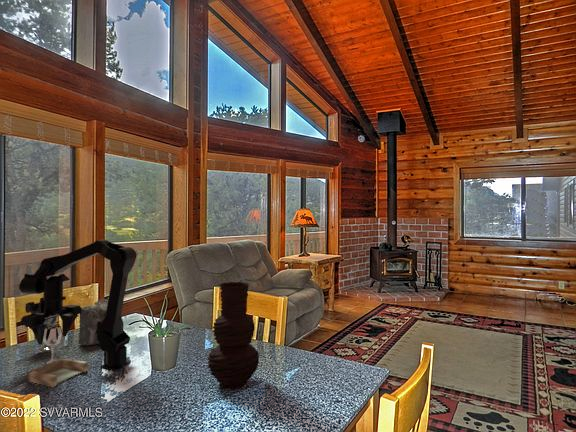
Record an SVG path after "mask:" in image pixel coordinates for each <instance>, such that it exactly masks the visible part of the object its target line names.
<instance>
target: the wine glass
mask: <svg viewBox="0 0 576 432" xmlns="http://www.w3.org/2000/svg"><path fill="white" fill-rule="evenodd" d="M36 314H39V313H36ZM40 315H43V313H42V314H40ZM49 316H51V315H49ZM58 317H59V316H57V317H54V318H50V319H46V320H45V322H44V323H43V324H45V325H46V326H45V327H47V326H52V325H56V324H57V322H58ZM43 344H44V343H43ZM51 347H52V346H47V345H45V344H44V345H43V346H40V348H39V347H37V348H38V349H37V348H36V349H37V350H40V351H46V350H50V349H51ZM53 347H54V346H53Z"/></svg>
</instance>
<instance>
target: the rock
mask: <svg viewBox="0 0 576 432" xmlns="http://www.w3.org/2000/svg"><path fill="white" fill-rule="evenodd" d="M107 305H108V299H98V300H96V301H95V302H94V305H92V306H90V305H86V306H83V307H81V314H79V321H78V322H79V333H78V340H77V343H78V344H79V345H81V346H88V345H89V346H93V345H95V346H96V345H98V344H100V343H99V341H98V340H97V338H96V335H97V334H95V332H96V330H97V322H98V321H100V320H102V319H104V318H105V316H106V310H107Z"/></svg>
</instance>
